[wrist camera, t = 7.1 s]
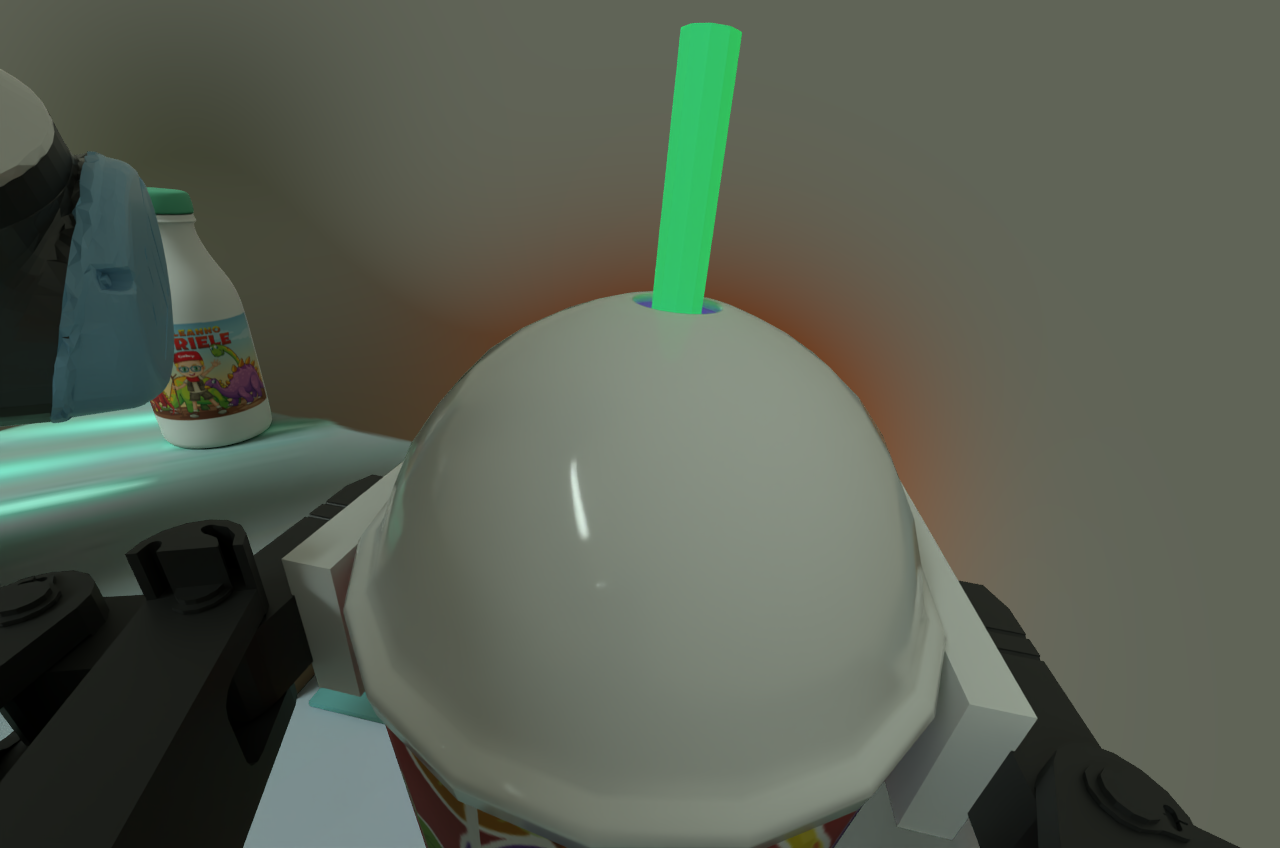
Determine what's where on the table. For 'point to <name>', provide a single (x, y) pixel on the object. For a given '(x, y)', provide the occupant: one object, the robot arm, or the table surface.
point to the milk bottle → (205, 342)
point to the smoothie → (648, 568)
